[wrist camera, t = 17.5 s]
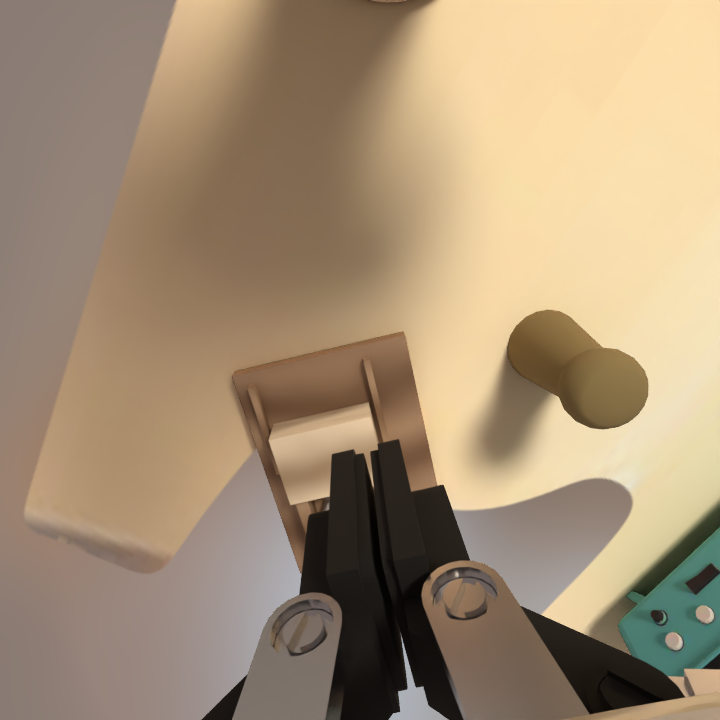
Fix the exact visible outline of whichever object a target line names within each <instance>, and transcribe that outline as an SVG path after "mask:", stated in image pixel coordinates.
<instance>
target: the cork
mask: <svg viewBox="0 0 720 720" xmlns="http://www.w3.org/2000/svg"><path fill="white" fill-rule="evenodd" d="M508 358H509V360H510V362H511V365H512V367H513V368H514V369H515V370H516V371H517V372H518V373H519V374H520V375H521V376H523V377H525V378H527V379H528V380H530V381H532V382H534V383H535V384H537V385H539V386H541V387H542V388H544V389H546V390H548V391H549V392H551V393H553V394H555V395H556V396H558V397H559V398H560V401H561V403H562V405H563V408H564V410H565V411H566V412H567V413H568V414H569V415H570V416H571V417H572V418H573V419H574V420H575V421H577V422H579V423H581V424H583V425H585V426H588V427H590V428H595V429H609V428H615V427H619V426H621V425H624V424H626V423H628V422H630V421H631V420H632V419H633V418H634V417H636V416H637V415H638V414H639V412H640V411H641V410H642V408H643V407H644V405H645V403H646V400H647V397H648V379H647V376H646V373H645V371H644V369H643V368H642V367H641V366H640V364H639V363H638V362H637V361H636V360H635V359H634V358H633V357H631V356H629V355H627V354H625V353H623V352H621V351H619V350H617V349H609V348H603V347H601V346H600V345H599V344H598V343H597V342H596V341H595V340H594V339H593V338H592V337H591V336H590V335H589V334H588V333H587V332H585V331H584V330H583V329H582V328H581V327H580V326H579V325H578V324H577V323H576V322H575V321H574V320H573V319H572V318H571V317H569V316H568V315H566V314H564V313H562V312H560V311H553V310H545V311H539V312H535V313H533V314H531V315H529V316H527V317H525V318H524V319H523V320H522V321H521V322H520V323H519V324H518V325H517V326H516V327H515V329H514V331H513V332H512V334H511V336H510V339H509V343H508Z"/></svg>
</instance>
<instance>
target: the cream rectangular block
mask: <svg viewBox="0 0 720 720" xmlns="http://www.w3.org/2000/svg"><path fill="white" fill-rule="evenodd" d="M269 443H270V446H271V449H272V452H273V455H274V458H275V461H276V464H277V467H278V470H279V473H280V476H281V479H282V482H283V485H284V488H285V491H286V494H287V497H288V500H289V503H290V505H294V504H298V503H303V502H307V501H312V500H316V499H320V498H325V497H329V496H330V479H331V457H332V454H334V453H339V452H343V451H347V450H352V449H354V450H355V453H356V454H361V453H364V456H365V459H366V463H367V466H368V470H369V474H370V478H371V481H372V485H373V487H374V484H373V475H372V465H371V456H370V451H374V450H378V445H377V444H378V443H379V441H378V437H377V433H376V429H375V425H374V421H373V417H372V413H371V409H370V405H369V402H367V403H363V404H358V405H354V406H350V407H345V408H341V409H337V410H332V411H328V412H324V413H319V414H315V415H311V416H307V417H302V418H298V419H294V420H289V421H285V422H281V423H276V424H273V428H272V431H271V434H270V437H269Z"/></svg>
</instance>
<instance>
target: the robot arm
mask: <svg viewBox="0 0 720 720" xmlns="http://www.w3.org/2000/svg"><path fill="white" fill-rule="evenodd" d="M372 1H376V2H402V1H407V0H372ZM377 445H378V450H374V451H370V456H371V465H372V475H373V484H374V489H373V485H372V481H371V478H370V474H369V470H368V466H367V463H366V459H365V456H364V453H361V454H356V453H355V450H354V449H352V450H347V451H343V452H339V453H334V454H332V457H331V479H330V500H329V510H326V511H322V512H317V513H313V514H310V515H309V517H308V522H307V531H306V540H305V549H304V558H303V567H302V577H301V586H300V594H299V595H298V596H296V597H294V598H292V599H290V600H288V601H286V602H285V603H284V604H282V605H281V606H280V607H278V608H277V609H276V610H275V611H274V613H273V614H272V615H271V616H270V617H269V619H268V621H267V623H266V625H265V627H264V629H263V631H262V634H261V637H260V640H259V643H258V646H257V649H256V652H255V655H254V658H253V660H252V663H251V666H250V669H249V672H248V674H247V675H246V676H245V677H244V678H243V679H242V680H241V681H240V682H239V683H238V684H237V685H236V686H235V687H234V688H233V689H232V690H231V691H230V692H229V693H228V694H227V695H226V696H225V697H224V698H223V699H222V700H221V701H220V702H219V703H218V704H217V705H216V706H215V707H214V708H213V709H212V710H211V711H210V712H209V713H208V714H207V715H206V716H205V717H204V718H203V719H202V720H388V719H389V718H390V717H391V715H392V714H393V713H397V712H400V706H399V697H398V691H402V690H406V689H407V678H406V671H405V663H404V656H403V648H402V641H401V636H402V639H403V643H404V646H405V650H406V654H407V657H408V661H409V665H410V668H411V672H412V675H413V679H414V683H415V686H416V687H422V686H423V687H424V690H425V694H426V698H427V701H428V705H429V706H430V707H432V708H433V709H434V710H436V711H437V712H439V713H440V714H442V715H443V716H444V717H446V718H447V719H449V720H720V670H714V669H684V677H675V676H667V675H665V674H664V673H663V672H662V671H660V670H658V669H657V668H655V667H653V666H652V665H650V664H648V663H646V662H644V661H642V660H640V659H638V658H636V657H633V656H631V655H629V654H627V653H624V652H622V651H620V650H618V649H615V648H613V647H611V646H609V645H607V644H604V643H602V642H600V641H598V640H595V639H593V638H591V637H589V636H586V635H584V634H582V633H580V632H578V631H575V630H573V629H571V628H569V627H566V626H564V625H562V624H560V623H558V622H555V621H553V620H551V619H549V618H546V617H544V616H542V615H540V614H537V613H535V612H533V611H531V610H529V609H526V608H524V607H522V606H520V605H519V603H518V602H517V600H516V599H515V597H514V596H513V594H512V593H511V591H510V589H509V588H508V586H507V585H506V583H505V582H504V580H503V578H502V577H501V576H500V575H499V574H498V573H497V572H496V571H495V570H494V569H492V568H490V567H489V566H487V565H485V564H483V563H479V562H475V561H470V559H469V556H468V553H467V550H466V548H465V545H464V542H463V539H462V536H461V533H460V530H459V528H458V525H457V522H456V519H455V516H454V513H453V510H452V507H451V505H450V502H449V499H448V496H447V493H446V490H445V488H444V485H439V486H435V487H430V488H426V489H421V490H416V491H412V492H411V488H410V483H409V479H408V475H407V471H406V466H405V462H404V458H403V454H402V450H401V445H400V441H399V439H396V440H391V441H387V442H383V443H378V444H377ZM400 632H401V633H400Z"/></svg>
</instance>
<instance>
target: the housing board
mask: <svg viewBox="0 0 720 720" xmlns="http://www.w3.org/2000/svg"><path fill="white" fill-rule="evenodd" d="M232 378H233V381H234V384H235V387H236V389H237V392H238V395H239V398H240V401H241V404H242V407H243V409H244V412H245V415H246V418H247V421H248V424H249V427H250V430H251V432H252V435H253V438H254V441H255V444H256V447H257V450H258V452H259V455H260V458H261V461H262V464H263V467H264V470H265V473H266V476H267V478H268V481H269V484H270V487H271V490H272V493H273V495H274V498H275V501H276V504H277V507H278V510H279V513H280V516H281V519H282V522H283V524H284V527H285V530H286V533H287V536H288V539H289V542H290V544H291V547H292V550H293V553H294V556H295V559H296V561H297V565H298V568H299V570H300V573H302V567H303V558H304V549H305V540H306V531H307V522H308V517H309V515H310V514H313V513H317V512H322V511H323V503H324V500H325V498H326V497H325V498H320V499H316V500H312V501H307V502H303V503H298V504H294V505H290V503H289V500H288V497H287V494H286V491H285V488H284V485H283V482H282V479H281V476H280V473H279V470H278V467H277V464H276V461H275V458H274V455H273V452H272V449H271V446H270V443H269V437H270V434H271V431H272V428H273V424H276V423H281V422H285V421H289V420H294V419H298V418H302V417H307V416H311V415H315V414H319V413H324V412H328V411H332V410H337V409H341V408H345V407H350V406H354V405H358V404H363V403H367V402H369V405H370V409H371V413H372V417H373V421H374V425H375V429H376V433H377V437H378V441H379V443H383V442H387V441H391V440H396V439H399V441H400V445H401V450H402V454H403V458H404V462H405V466H406V471H407V475H408V479H409V483H410V488H411V492H412V491H416V490H421V489H426V488H430V487H435V486H437V482H436V477H435V473H434V468H433V464H432V459H431V454H430V450H429V445H428V440H427V436H426V431H425V426H424V422H423V417H422V412H421V408H420V403H419V399H418V394H417V389H416V385H415V380H414V375H413V371H412V366H411V361H410V357H409V352H408V347H407V343H406V338H405V335H404V332H399V333H395V334H390V335H386V336H382V337H378V338H373V339H369V340H365V341H361V342H357V343H352V344H348V345H344V346H340V347H336V348H331V349H327V350H323V351H319V352H315V353H310V354H306V355H302V356H298V357H294V358H289V359H285V360H281V361H277V362H272V363H268V364H264V365H260V366H256V367H251V368H247V369H243V370H239V371H235V373H234V374H233V376H232ZM373 489H374V487H373Z"/></svg>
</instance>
